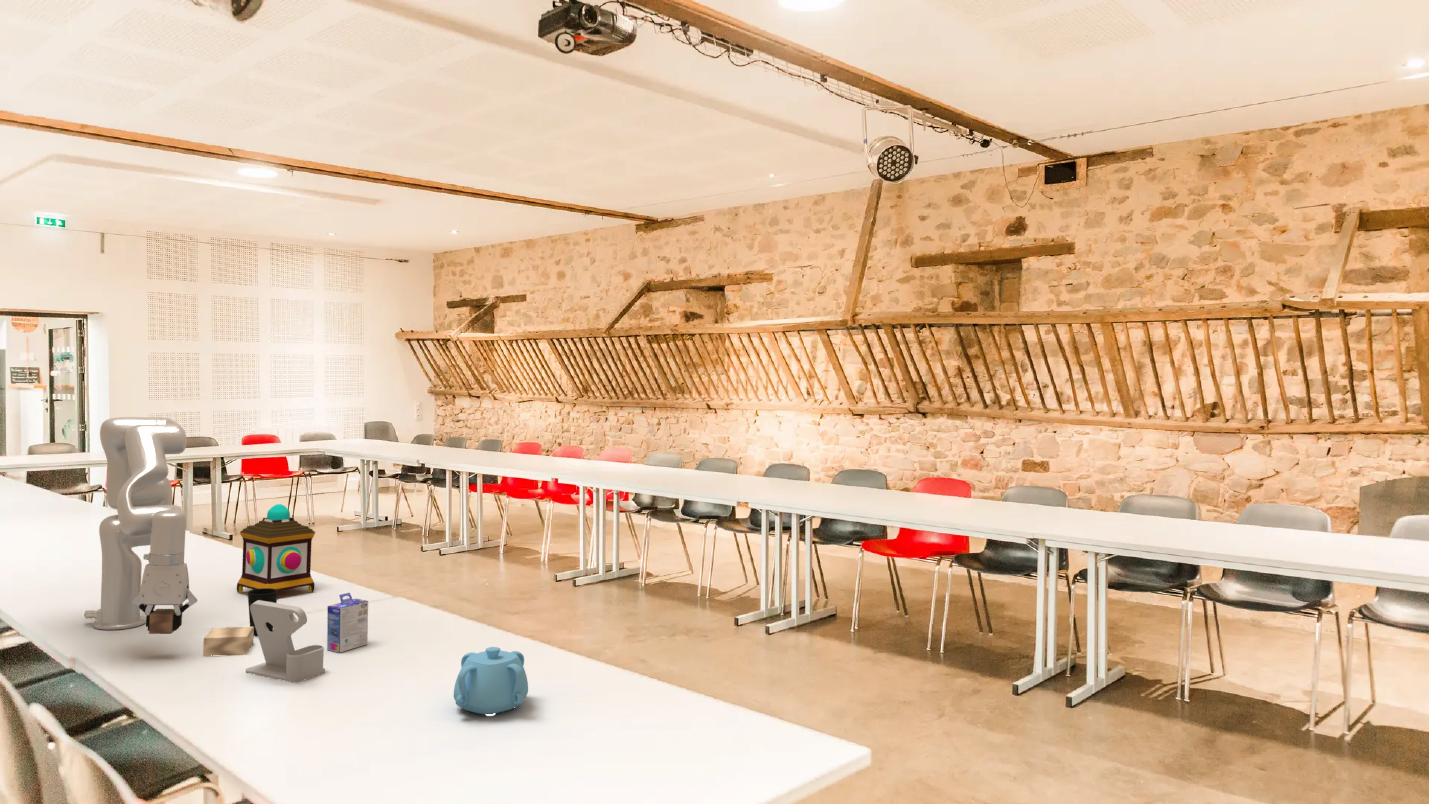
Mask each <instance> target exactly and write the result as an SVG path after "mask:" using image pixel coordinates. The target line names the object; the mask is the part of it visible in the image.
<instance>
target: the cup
mask: <svg viewBox="0 0 1429 804" xmlns="http://www.w3.org/2000/svg"><path fill="white" fill-rule="evenodd" d="M278 595H279V591H278V590H277V589H272V588H261V589H254V590H253V589H250V590H248V591H247V601H248V614H249V615H248V617H249V618H248V619H249V627H254V635H255V636H254V637H258V634H257V631H256V628H255V624H254V621H253V618H252V614H251V611H250V605H251V604H253V603H254V602H256V601H257V600H261V601H267V602H273V603H278ZM266 626H267V628H268V629H269V631H270V632H273V631H274V628H273V626H272V625H271V624H270V623H268V622H266Z"/></svg>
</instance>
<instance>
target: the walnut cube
mask: <svg viewBox="0 0 1429 804" xmlns="http://www.w3.org/2000/svg"><path fill="white" fill-rule="evenodd" d="M174 615H175V610H174V608H156V609H154V612H152V613H151V614H150V624H149V631H148V634H149V635H157V634H158V635H172V634H173V633H174V632H175V631H173V616H174Z"/></svg>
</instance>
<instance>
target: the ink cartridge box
mask: <svg viewBox="0 0 1429 804" xmlns="http://www.w3.org/2000/svg"><path fill="white" fill-rule="evenodd" d="M338 595H339V599H340V602H338V603H335V604H331V605H328V606H327V617H326V618H327V619H326V620H327V622H326V623H327V624H326V625H327V633H326V634H327V635H326V637H327V638H326V640H327V641H326V643H327V644H326V645H327V646H326V649H327V651H330V652H335V653H343V652H346V651H349V650H353V649H355V648H359V647H362V646H365V645H368V637H369V636H368V635H369V634H368V633H369V630H368V629H369V627H368V625H369V620H368V619H369V600H367V599H366V600H365V599H361V598H353V597H352V594H351V593H350V592H346V593H341V594H338ZM345 597H348V598H345ZM343 598H345V599H343Z"/></svg>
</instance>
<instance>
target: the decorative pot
mask: <svg viewBox="0 0 1429 804" xmlns="http://www.w3.org/2000/svg"><path fill="white" fill-rule="evenodd" d="M460 664H461V665H460V666H461V668H460V671H459V673H458V674H457V677H456V679H455V683H454V688H453V699H454V701H455V704H456V706H457V707H459V708H461V709H463V710H466V711H468V712H472V713H475V714H479V715H480V714H481V715H484V714H493V713H496V714H498V713H502V712H506V711H509V710H512V708H513V709H515V708H514V707H516V706H517V707H518V706H520V705H522V703H523V702H524V701H525V699H526V697H527V696H528V693H529V682H528V677H527V676H528V675H527V673H526V670H525V668H524V667H525V666H524V664H525V657H524V654H523V653H522V652H520V651H517V650H515V651H514V650H513V651H506V650H501V648H500V647H498V646H489V647H486V648H485V651H481V652H477V653H476V652H467V653H465V654H464V655H463V656H462V657H461V660H460ZM517 707H516V708H517Z"/></svg>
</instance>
